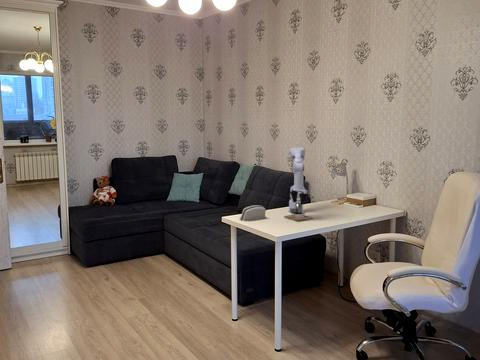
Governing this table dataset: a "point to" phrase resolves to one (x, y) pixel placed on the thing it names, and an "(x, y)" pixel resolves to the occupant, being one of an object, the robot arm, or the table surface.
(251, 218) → the grey napkin holder
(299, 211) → the elbow
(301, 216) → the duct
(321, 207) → the table surface
